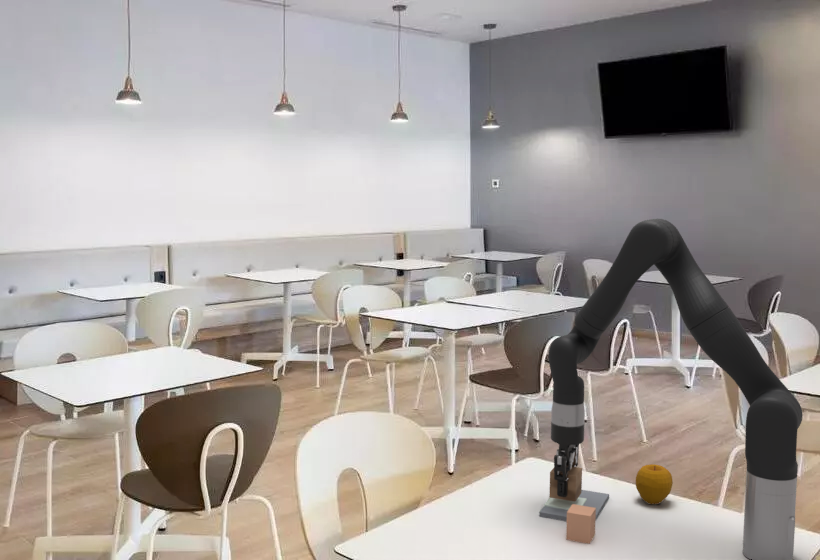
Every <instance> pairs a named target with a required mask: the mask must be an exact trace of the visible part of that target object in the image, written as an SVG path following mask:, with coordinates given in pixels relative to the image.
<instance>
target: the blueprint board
mask: <svg viewBox="0 0 820 560" xmlns="http://www.w3.org/2000/svg"><path fill="white" fill-rule="evenodd" d="M609 499H610V493H604V492H598V491H594V490H593V491H592V490H585V489H582V491H581V494H580V496H579V497H578V499H577V500H576V501H575V502H574V501H568V500H562V499H556V498H550V497H549V498H548V499H547V500H546V502H545V503H544V506H543V507H541V509H540V511H539V512H538V513H539V515H538V516H539V517H542V518H546V519H553V520H558V521H564V522H567V511H568V510H569V508H570V507H571V505H572V504H575V505H581V506H587V507H594V508H596V520H595V522H596V521H597V519H598V518H599V516H600V514H601V513H602V511H603V510H604V507H605V506H606V504H607V502H608V500H609Z"/></svg>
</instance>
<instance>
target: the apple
mask: <svg viewBox="0 0 820 560" xmlns="http://www.w3.org/2000/svg"><path fill="white" fill-rule="evenodd" d="M673 483H674V482H673V476H672V474H671V472H670V470H669V469H667V468H665V467H664V466H663V465H660V464H653V463H652V464H646V465H642V467H640V468H639V470H638V471H637V473H636V476H635V487H636V490H637V492H638V494H639V496H640V497H641V499H642V500H643V501H644V502H645V503H647V504H648V505H659V504H661V503H662V502H664V500H666V499H667V497H668V496H669V495H670V493H671V491H672V487H673Z"/></svg>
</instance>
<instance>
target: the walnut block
mask: <svg viewBox="0 0 820 560" xmlns="http://www.w3.org/2000/svg"><path fill="white" fill-rule="evenodd" d="M566 467H568V466H566ZM560 475H563V472H561V471H560ZM582 480H583V468H582V467H580V466H579V467H578V466H577V467H572V470H571V471H570V472H569V475H568V489H567V496H566V497H560V496H558V495H557V480H555V479H554V467H553V468H552V469H551V470H550V471H549V498H556V499H562V500H568V501H574V502H575V501H576V500H577V499H578V497H579V496H580V494H581V491H582V490H583V489H582V487H583V482H582Z"/></svg>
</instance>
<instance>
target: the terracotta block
mask: <svg viewBox="0 0 820 560" xmlns="http://www.w3.org/2000/svg"><path fill="white" fill-rule="evenodd" d="M595 520H596V521H597V519H596V508H594V507H587V506H581V505H575V504H572V505H571V507H570V508H569V510H568V511H567V521H566V530H565V532H566V533H565V539H566V540H567V541H571V542H577V543H583V544H587V545H588V544H591V543H592V541H593V540H594V537H595V535H596V521H595Z"/></svg>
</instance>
